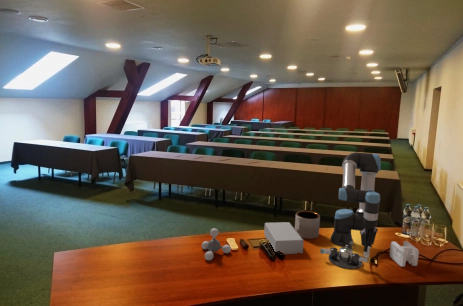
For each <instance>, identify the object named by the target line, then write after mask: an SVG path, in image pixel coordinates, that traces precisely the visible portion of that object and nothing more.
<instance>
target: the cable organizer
mask: <svg viewBox="0 0 463 306" xmlns="http://www.w3.org/2000/svg"><path fill="white" fill-rule="evenodd" d="M389 248H390V249H389V257H390V258H391V259H392V260H393V262H395V263H396V264H397V265H398V266H399V267H403V268H404V267H405V266H406V262H408V264H409V265H411V266H412V267H417V266H418V262H419V255H420V251H419V249H418V248H416V247H415V246H414V245H413V244H412V243H410V242H409V241H407V240H404V241H403V244H402V245H400V244H399V243H398V242H397V241H390V247H389Z"/></svg>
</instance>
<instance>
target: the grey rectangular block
mask: <svg viewBox="0 0 463 306" xmlns="http://www.w3.org/2000/svg"><path fill="white" fill-rule="evenodd" d="M338 249H339V248H337V247H330V248H320V254H322V255H323V254H324V255H325V254H326V255H329V254H330V259H333V260H336V259H337V252H338Z"/></svg>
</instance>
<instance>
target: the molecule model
mask: <svg viewBox="0 0 463 306" xmlns="http://www.w3.org/2000/svg"><path fill="white" fill-rule="evenodd" d="M209 234H210V236H211V237H212V239H210V240H209V241H208V240H205V241H203V242H202V244H201V248H202V249H203V250H208V251H206V252H205V253H204V259H205V260H206V261H208V262H209V261H212V260H213V258H214V253H217V252H219V250H220V249H221V250H222V252H223V253H224V254H229V253H231V250H232V248H231V245H229V244H225V245H223V246H222V245H221V243H220V240H218V238H217V239H216V237H218V235H219V230H218V228H215V227H213V228H211V229H210V231H209Z"/></svg>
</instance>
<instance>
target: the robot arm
mask: <svg viewBox="0 0 463 306" xmlns="http://www.w3.org/2000/svg"><path fill="white" fill-rule="evenodd" d="M381 160H382V159H381V156H380V155H379V154H378V153H370V152H369V153H368V152H357V151H356V152H351V153H349V154H348V155H346V157H344V158H343V160H342V162H341V163H342V164H341V167H342V169H343V172H342V185H341V186H342V187H340V188H338V189H339V190H338V200H340V201H344V202H351V203H352V202H353V203H359V205H358V206H359V208H358V209H356V212H354V211H353V210H352V209H348V208H342V209H341V208H340V209H338V210H336V211H335V214H334V215H335V216H334V225H333V231H332V234H331V236H330V242H331V243H332V244H334V245H337V246H339V247H345V244H349V242H350V241H352V242H353V243H354V240H353V236H352V231H359V234H360V242H361V246H363V255H362V256H363V257H367V258H370V253H371V248H372V247H373V246H374V244H375V240H376V236H377V233H378V231H379V229H378V228H376V227H377V226H378V217H379V208H380V202H381V194H380V193H378V192H376V191H375V182H376V176H377V175H378V174H379V172H380V171H381V168H382V167H381V166H382V161H381ZM356 170H359V173H360V174H361V181H360V182H361V183H360V189H356Z"/></svg>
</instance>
